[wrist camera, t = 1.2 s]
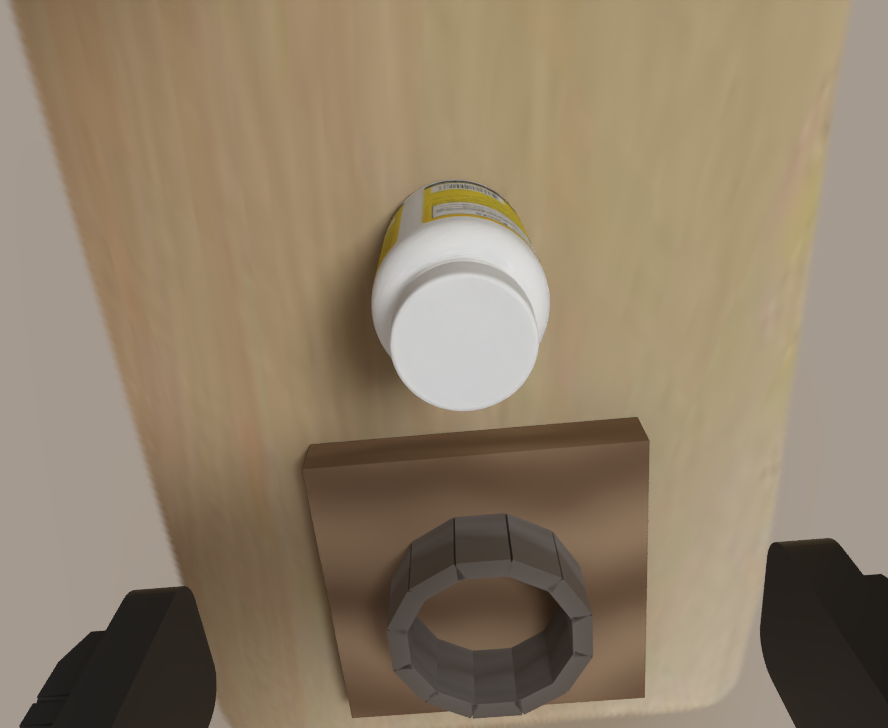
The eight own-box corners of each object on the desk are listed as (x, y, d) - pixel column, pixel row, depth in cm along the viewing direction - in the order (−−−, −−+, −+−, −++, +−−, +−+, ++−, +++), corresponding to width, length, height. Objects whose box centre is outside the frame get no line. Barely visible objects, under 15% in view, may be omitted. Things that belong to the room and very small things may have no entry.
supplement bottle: (434, 338, 30) (429, 467, 21) (357, 226, 28) (317, 314, 19) (552, 270, 29) (600, 375, 20) (480, 147, 27) (499, 203, 18)
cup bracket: (310, 444, 32) (287, 512, 27) (637, 417, 31) (670, 482, 27) (356, 684, 38) (344, 774, 33) (634, 664, 37) (661, 753, 32)
